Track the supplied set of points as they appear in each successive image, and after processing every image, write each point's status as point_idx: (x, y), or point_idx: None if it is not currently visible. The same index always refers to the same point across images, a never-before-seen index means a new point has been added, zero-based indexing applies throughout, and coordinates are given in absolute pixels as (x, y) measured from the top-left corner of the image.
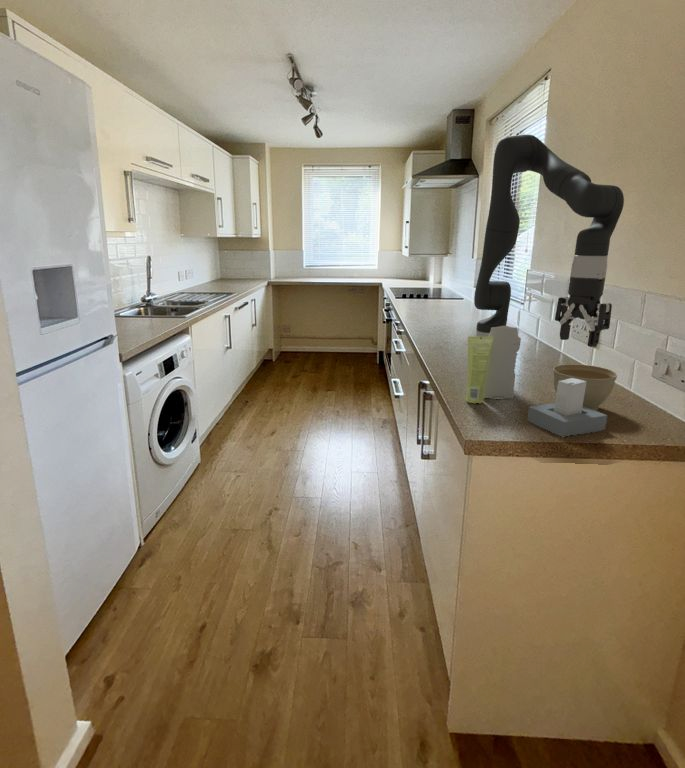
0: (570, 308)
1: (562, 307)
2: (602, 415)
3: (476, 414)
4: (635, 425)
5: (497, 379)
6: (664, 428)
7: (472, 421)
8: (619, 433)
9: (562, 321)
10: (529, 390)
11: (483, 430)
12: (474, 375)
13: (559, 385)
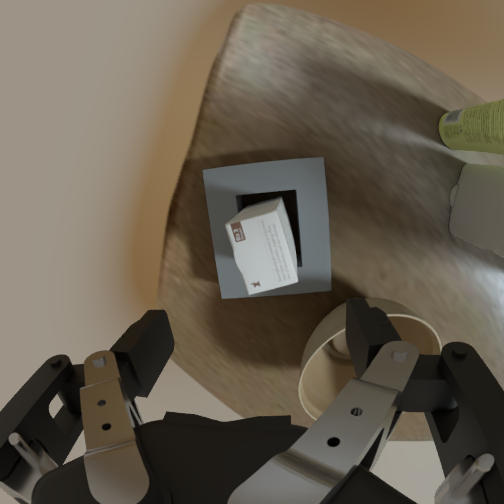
0: (312, 471)
1: (471, 447)
2: (222, 287)
3: (380, 78)
4: (238, 353)
5: (482, 193)
6: (216, 379)
7: (341, 46)
8: (208, 298)
9: (396, 358)
10: (465, 300)
11: (287, 39)
12: (481, 108)
13: (270, 209)
